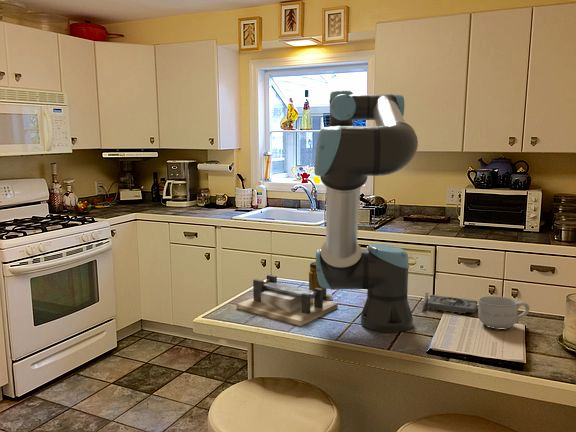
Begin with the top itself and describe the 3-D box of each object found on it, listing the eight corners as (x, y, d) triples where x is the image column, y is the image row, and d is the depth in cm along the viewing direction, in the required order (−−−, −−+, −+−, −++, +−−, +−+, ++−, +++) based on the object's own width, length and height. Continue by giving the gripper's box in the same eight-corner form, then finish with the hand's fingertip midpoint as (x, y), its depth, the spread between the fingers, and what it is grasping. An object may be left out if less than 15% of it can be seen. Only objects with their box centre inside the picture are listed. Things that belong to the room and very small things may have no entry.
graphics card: (418, 302, 161) (425, 291, 172) (418, 313, 162) (424, 301, 172) (475, 310, 154) (478, 297, 165) (474, 322, 155) (477, 309, 166)
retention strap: (318, 296, 160) (318, 290, 160) (309, 300, 156) (309, 294, 156) (268, 283, 173) (268, 278, 172) (258, 287, 169) (258, 282, 168)
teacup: (476, 330, 146) (478, 303, 145) (476, 317, 156) (478, 292, 155) (530, 336, 141) (532, 308, 140) (526, 323, 151) (528, 297, 150)
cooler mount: (337, 307, 165) (337, 282, 164) (301, 326, 150) (300, 298, 148) (275, 293, 181) (275, 270, 180) (236, 308, 166) (236, 283, 164)
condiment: (307, 294, 180) (307, 261, 179) (331, 294, 180) (332, 261, 178) (307, 300, 173) (307, 266, 171) (332, 300, 173) (333, 266, 171)
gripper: (364, 139, 166) (363, 211, 170) (330, 139, 174) (330, 207, 178) (352, 139, 160) (351, 213, 164) (318, 139, 168) (317, 210, 172)
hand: (340, 210), depth 171 cm, fingers closed
